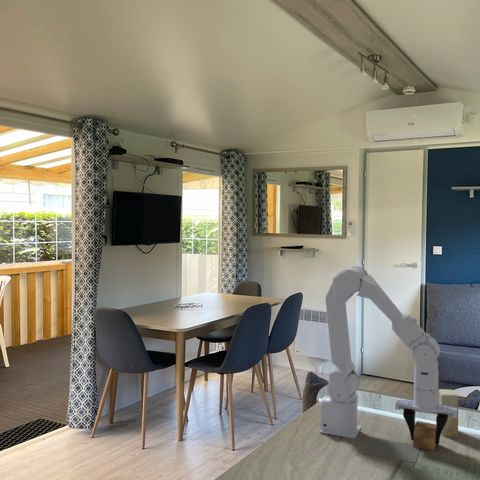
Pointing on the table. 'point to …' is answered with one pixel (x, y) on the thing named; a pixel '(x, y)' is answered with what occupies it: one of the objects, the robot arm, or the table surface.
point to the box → (451, 425)
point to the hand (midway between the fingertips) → (425, 441)
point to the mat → (392, 450)
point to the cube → (424, 435)
